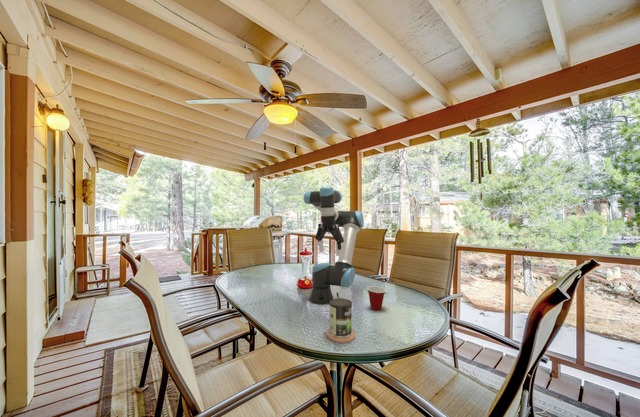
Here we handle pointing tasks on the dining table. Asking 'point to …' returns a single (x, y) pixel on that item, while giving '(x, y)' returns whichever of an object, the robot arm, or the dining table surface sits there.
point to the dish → (340, 340)
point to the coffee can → (340, 317)
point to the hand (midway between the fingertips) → (329, 253)
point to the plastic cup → (376, 297)
